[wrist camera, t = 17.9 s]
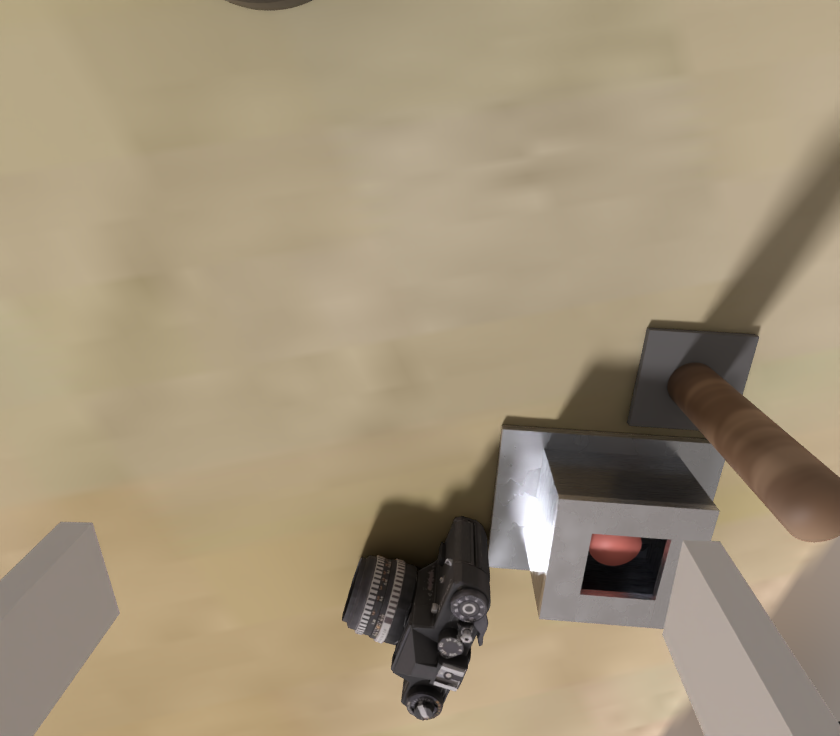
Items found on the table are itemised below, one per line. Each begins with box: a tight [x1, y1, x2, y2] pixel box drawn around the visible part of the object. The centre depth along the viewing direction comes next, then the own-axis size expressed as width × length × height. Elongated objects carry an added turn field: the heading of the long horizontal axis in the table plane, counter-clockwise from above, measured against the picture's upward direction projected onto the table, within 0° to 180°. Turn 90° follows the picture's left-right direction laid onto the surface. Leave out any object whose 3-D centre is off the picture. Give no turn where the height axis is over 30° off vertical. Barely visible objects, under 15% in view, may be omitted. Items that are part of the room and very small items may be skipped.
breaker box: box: [488, 425, 725, 629], centre depth 44 cm, size 14×18×8 cm
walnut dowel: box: [667, 363, 840, 542], centre depth 35 cm, size 4×4×16 cm
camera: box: [342, 516, 491, 720], centre depth 46 cm, size 14×11×10 cm
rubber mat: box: [627, 328, 759, 430], centre depth 42 cm, size 8×8×1 cm
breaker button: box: [589, 534, 642, 566], centre depth 44 cm, size 4×4×4 cm
